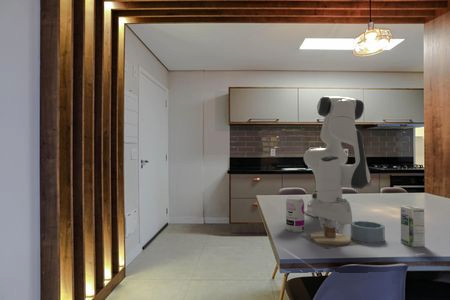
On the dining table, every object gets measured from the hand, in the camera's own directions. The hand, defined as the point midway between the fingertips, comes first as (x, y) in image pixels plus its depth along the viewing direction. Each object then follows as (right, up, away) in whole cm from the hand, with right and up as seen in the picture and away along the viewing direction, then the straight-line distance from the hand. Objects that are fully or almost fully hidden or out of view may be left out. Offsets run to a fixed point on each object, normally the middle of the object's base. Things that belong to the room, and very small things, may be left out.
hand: (331, 230), depth 110 cm
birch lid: (0, -4, 0) cm, 4 cm away
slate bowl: (+16, -4, +2) cm, 17 cm away
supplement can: (-10, -5, +16) cm, 20 cm away
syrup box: (+30, -4, -5) cm, 30 cm away
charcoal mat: (0, -4, 0) cm, 4 cm away
